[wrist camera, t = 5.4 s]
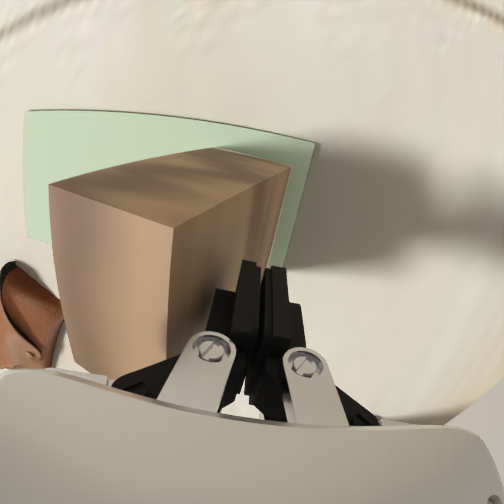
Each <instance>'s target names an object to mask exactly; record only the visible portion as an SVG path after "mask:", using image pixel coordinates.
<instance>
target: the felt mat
mask: <svg viewBox="0 0 504 504" xmlns="http://www.w3.org/2000/svg"><path fill="white" fill-rule="evenodd" d="M314 146H315V143H312V142H308V141H304V140H300V139H296V138H292V137H287V136H283V135H278V134H274V133H269V132H264V131H259V130H254V129H249V128H243V127H238V126H232V125H226V124H220V123H214V122H208V121H201V120H194V119H186V118H178V117H169V116H160V115H150V114H138V113H125V112H108V111H78V110H50V111H26V112H25V113H24V128H23V190H24V206H25V217H26V227H27V236H28V238H32V239H36V240H39V241H43V242H47V243H51V244H52V238H51V227H50V213H49V191H48V184H51V183H54V182H57V181H61V180H64V179H68V178H71V177H75V176H78V175H82V174H86V173H89V172H93V171H97V170H101V169H105V168H109V167H113V166H117V165H122V164H126V163H131V162H135V161H140V160H144V159H149V158H154V157H159V156H164V155H170V154H175V153H181V152H186V151H192V150H198V149H205V148H211V147H217V148H222V149H226V150H231V151H235V152H239V153H243V154H247V155H251V156H256V157H259V158H263V159H267V160H271V161H275V162H279V163H282V164H286V165H290V166H292V170H291V174H290V178H289V183H288V187H287V191H286V195H285V199H284V203H283V207H282V211H281V215H280V220H279V224H278V228H277V232H276V236H275V240H274V244H273V248H272V252H271V256H270V259H269V263H268V267H267V268H269V269H270V267H271V265H273V266H278V267H283V265H284V261H285V257H286V254H287V250H288V247H289V243H290V239H291V236H292V232H293V228H294V224H295V221H296V217H297V213H298V209H299V206H300V202H301V198H302V194H303V190H304V186H305V182H306V178H307V175H308V171H309V167H310V163H311V159H312V155H313V150H314Z"/></svg>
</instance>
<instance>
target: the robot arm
mask: <svg viewBox="0 0 504 504" xmlns="http://www.w3.org/2000/svg"><path fill="white" fill-rule="evenodd" d="M244 379H245V388H244V395H248V396H249V404H250V405H254V406H255V407H256V408H257V409H258V410H259V411H260V414H259V419H253V418H246V417H240V416H233V415H227V414H222V413H221V410H222V408H223V407H225V406H227V405H229V404H231V403H232V402H234V400H235V397H236V394H240V392H241V389H242V385H243V382H244ZM0 504H504V488H503V485H502V482H501V479H500V476H499V473H498V470H497V468H496V465H495V462H494V460H493V458H492V456H491V454H490V452H489V450H488V448H487V446H486V444H485V443H484V441H483V440H482V439H481V438H480V437H479V436H478V435H476V434H474V433H472V432H470V431H468V430H464V429H461V428H457V427H451V426H444V425H417V424H411V423H405V422H400V421H394V420H389V419H384V418H382V419H381V420H380V421H378V420H377V418H376V417H375V416H374V415H373V414H372V413H371V412H369V411H368V410H367V409H365V408H364V407H363V406H361V405H360V404H359V403H357V402H356V401H355V400H354V399H352V398H351V397H350V396H348V395H347V394H346V393H344V392H343V391H342V390H341V389H339V388H338V387H337V386H335V384H334V381H333V378H332V376H331V373H330V370H329V367H328V365H327V363H326V361H325V359H324V358H323V357H322V356H321V355H320V354H319V353H317V352H315V351H314V350H311V349H308V348H306V342H305V334H304V326H303V319H302V312H301V306H300V304H296V303H290V302H289V297H288V286H287V275H286V268H283V267H278V266H273V265H271V267H270V269H269V268H265V270H264V274H263V278H262V281H261V267H259V266H256V262H253V261H248V260H243V259H242V264H241V268H240V273H239V277H238V282H237V287H236V291H235V292H233V291H228V290H223V289H218V288H216V290H215V294H214V298H213V302H212V306H211V310H210V313H209V317H208V321H207V325H206V329H205V331H204V332H200V333H197V334H195V335H193V336H192V337H191V338H190V339H189V341H188V343H187V344H186V346H185V348H184V350H183V352H182V353H181V354H179V355H176V356H174V357H171V358H169V359H166V360H164V361H161V362H158V363H156V364H153V365H150V366H148V367H145V368H142V369H139V370H137V371H134V372H131V373H128V374H125V375H123V376H121V377H119V378H117V379H116V380H111V379H108V376H105V375H97V374H90V373H83V372H77V371H70V370H64V369H59V368H45V369H32V368H20V369H12V370H9V371H6V372H4V373H2V374H0Z"/></svg>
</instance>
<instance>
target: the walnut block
mask: <svg viewBox="0 0 504 504" xmlns="http://www.w3.org/2000/svg"><path fill="white" fill-rule="evenodd" d="M291 170H292V166H290V165H286V164H282V163H279V162H275V161H271V160H267V159H263V158H259V157H256V156H251V155H247V154H243V153H239V152H235V151H231V150H226V149H222V148H217V147H211V148H205V149H198V150H192V151H186V152H181V153H175V154H170V155H164V156H159V157H154V158H149V159H144V160H140V161H135V162H131V163H126V164H122V165H117V166H113V167H109V168H105V169H101V170H97V171H93V172H89V173H86V174H82V175H78V176H75V177H71V178H68V179H64V180H61V181H57V182H54V183H51V184H48V191H49V213H50V227H51V238H52V248H53V256H54V264H55V271H56V278H57V284H58V290H59V296H60V301H61V306H62V311H63V316H64V321H65V325H66V329H67V334H68V338H69V342H70V346H71V349H72V353H73V357H74V360H75V362H76V363H77V364H79V365H80V366H82V367H83V368H84V369H86V370H87V371H88V372H90V373H91V374H97V375H105V376H108V379H111V380H116V379H117V378H119V377H121V376H123V375H125V374H128V373H131V372H134V371H137V370H139V369H142V368H145V367H148V366H150V365H153V364H156V363H158V362H161V361H164V360H166V359H169V358H171V357H174V356H176V355H179V354H181V353H182V352H183V350H184V348H185V346H186V344H187V343H188V341H189V339H190V338H191V337H192V336H193V335H195V334H197V333H200V332H204V331H205V329H206V325H207V321H208V317H209V313H210V310H211V306H212V302H213V298H214V294H215V290H216V288H218V289H223V290H228V291H233V292H235V291H236V287H237V282H238V277H239V273H240V268H241V264H242V259H243V260H248V261H253V262H256V266H259V267H261V281H262V278H263V274H264V270H265V268H267V267H268V263H269V259H270V256H271V252H272V248H273V244H274V240H275V236H276V232H277V228H278V224H279V220H280V215H281V211H282V207H283V203H284V199H285V195H286V191H287V187H288V183H289V178H290V174H291Z"/></svg>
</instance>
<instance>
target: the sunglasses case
mask: <svg viewBox="0 0 504 504" xmlns="http://www.w3.org/2000/svg"><path fill="white" fill-rule="evenodd" d="M63 320H64V316H63V311H62V306H61V301H60V300H59V299H57V298H56V297H55V296H54V295H52V294H51V293H50V292H49V291H47V290H46V289H45V288H44V287H42V286H41V285H40V284H39V283H38V282H36V281H35V280H34V279H33V278H31V277H30V276H29V275H28V274H27V273H25V272H24V271H23V270H22V269H21V268H19V267H18V266H17V265H15V262H14V261H12V262H8V263H6V264H5V265H4V266H3V267H2V269H1V271H0V369H3V368H7V369H10V370H12V369H20V368H32V369H45V368H50V367H51V360H52V356H53V352H54V347H55V343H56V339H57V336H58V333H59V329H60V327H61V324H62V322H63Z"/></svg>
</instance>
